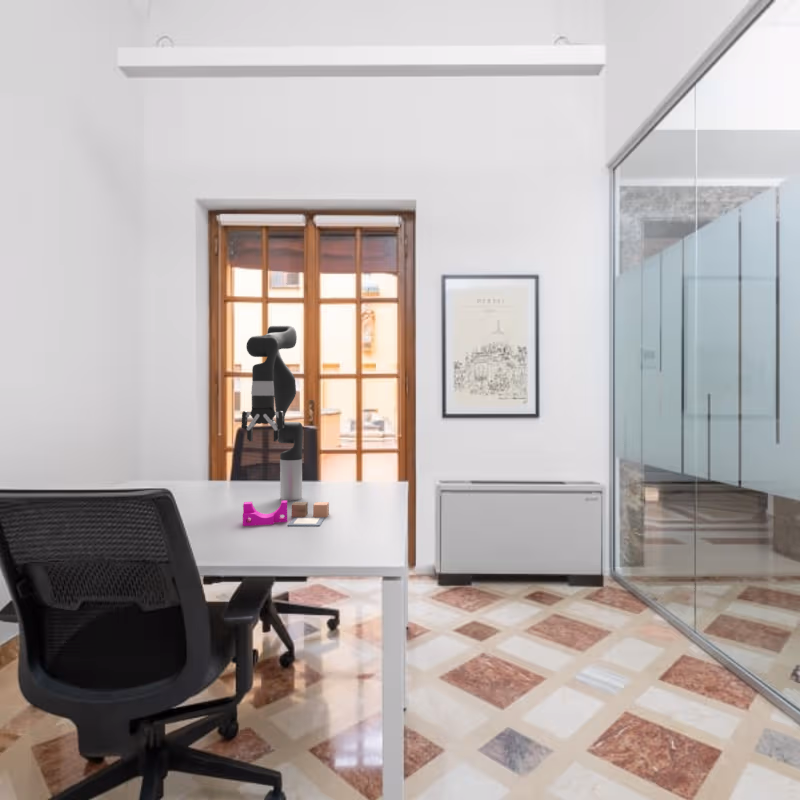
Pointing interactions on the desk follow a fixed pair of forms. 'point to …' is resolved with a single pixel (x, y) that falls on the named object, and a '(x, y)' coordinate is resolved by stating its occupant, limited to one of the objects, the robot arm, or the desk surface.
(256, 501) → the desk surface
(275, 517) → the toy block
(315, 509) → the terracotta cube
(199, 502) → the desk surface
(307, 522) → the blue bordered cream board
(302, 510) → the walnut cube
